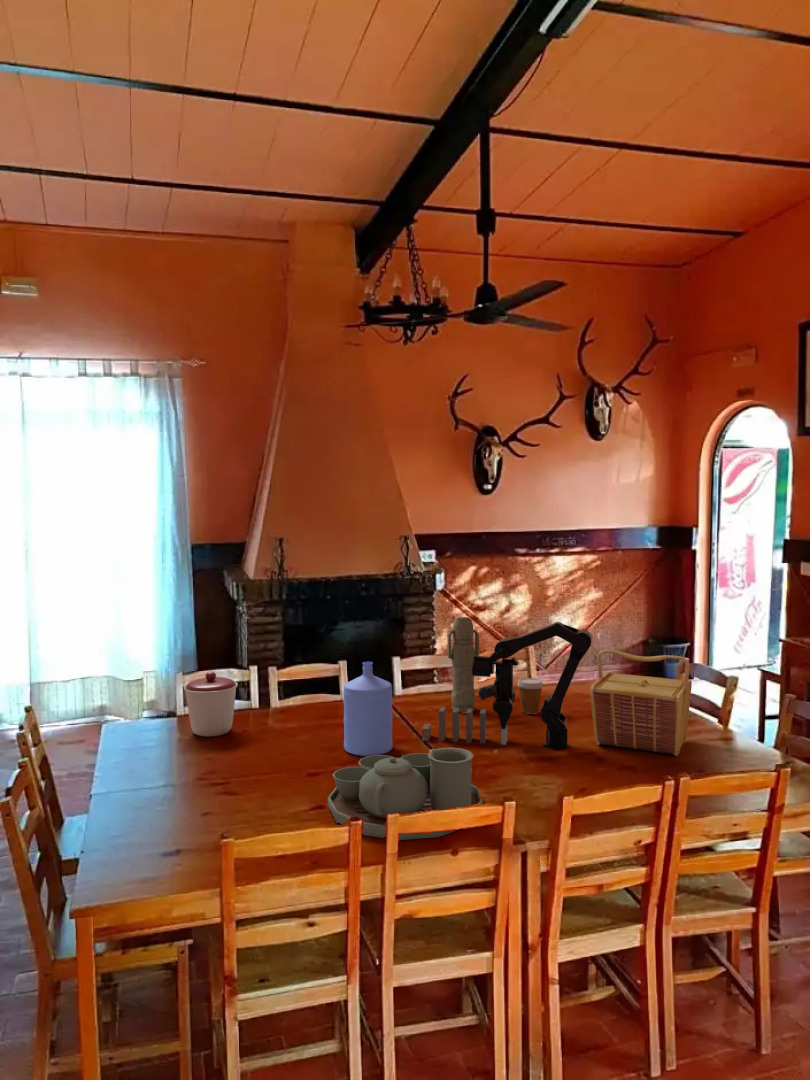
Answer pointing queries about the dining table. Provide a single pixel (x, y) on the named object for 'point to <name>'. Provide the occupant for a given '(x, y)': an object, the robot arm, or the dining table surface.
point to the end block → (426, 732)
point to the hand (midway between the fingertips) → (504, 724)
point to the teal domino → (504, 736)
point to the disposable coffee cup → (530, 694)
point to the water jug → (368, 714)
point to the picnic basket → (641, 708)
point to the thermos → (463, 663)
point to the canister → (211, 704)
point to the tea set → (403, 788)
